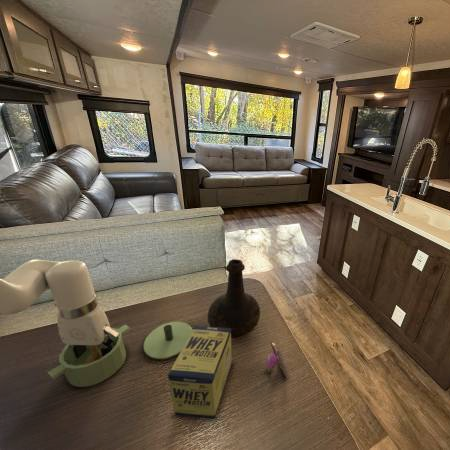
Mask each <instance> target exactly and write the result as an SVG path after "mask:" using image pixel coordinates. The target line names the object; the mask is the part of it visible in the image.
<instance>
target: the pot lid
mask: <svg viewBox="0 0 450 450" xmlns="http://www.w3.org/2000/svg"><path fill="white" fill-rule="evenodd" d="M192 330H193V328H192V326H191V325H190V324H189V323H186V322H184V321H170V322H167V323H163V324H162V325H159V326H157V327H155V328H154V329H153V330H151V332H150V333H149V334H148V335H147V336H146V338H145V340H144V343H143V351H144V353H145V354H146V356H148V357H149V358H151V359H154V360H166V359H169V358H173V357H175V356H177V355H179V354H180V352H181V350H182V348H183V347H184V345H185V343H186V341H187V339H188V338H189V336H190V334H191V332H192Z"/></svg>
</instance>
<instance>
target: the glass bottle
mask: <svg viewBox="0 0 450 450" xmlns="http://www.w3.org/2000/svg"><path fill="white" fill-rule="evenodd" d="M245 267H246V266H245V264H244V263H243V261H242V260H241V259H237V258H233V259H230V260H229V261H228V262H227V265H226V266H225V271H226V272H227V274H228V277H227V288H226V292H224V293H223V294H221V295H219V296H218V297H216V298H215V299H214V300H213V301H212V303H211V304H210V306H209V308H208V311H207V323H208V325H209V327H218V328H231V340H232V339H240V338H242V337H245V336H247V335H248V334H249V333H251V332H252V331H253V330H254V329H255V328H256V327H257V325H258V323H259V321H260V318H261V308H260V304H259V302H258V300H257V299H256V298H255V297H254V296H253V295H251V294H249V293H247V292H245V287H244V286H245V285H244V276H243V272H244V270H245Z"/></svg>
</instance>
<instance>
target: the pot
mask: <svg viewBox="0 0 450 450" xmlns="http://www.w3.org/2000/svg"><path fill="white" fill-rule="evenodd" d="M110 328H111V329H113V330H114V331H116V332H118V333H119V334H120V335H119V336H118V337H117V339H116V340H114V341H113V342H112V343H111V345H112V348H113V349H112V350H111V351H110V352H109V353H108V354H106V355H105V356H103V357H102V358H100V359H98V360H96V361H94V362H91V363H89V364H86V360H87V358H88V357H89V356H90V355H92V354H91V351H90V348H89V345H86V348H87V350H86V351H85V352H84V353H83V355H82V356H81V357H80V358H76V357H75V354H74V351H73V348H70V347H69V344H65V346H64V347H63V349H62V351H61V352H60V353H59V365H57V366H55V367H54V368H52V369H51V370H49V371H47V372H46V374H47V375H48V376H49V378H50V379H51V380H55V379H57V378H58V377H60V376H61V375H63V374H64V376H65V378H66V381H67V382H68V383H69V384H70V385H71V386H73V387H77V388H86V387H91V386H95V385H97V384H99V383H101V382H103V381H105V380H108V379H109V378H110V377H112V376H113V375H114V374H115V373H116V372H118V371H119V370H120V369H121V367H122V366H123V365H124V363H125V361H126V358H127V351H126V347H125V343H124V340H123V335H124V334H126V333H128V332H129V331H131V328H130V326H128V325H127V324H123V325H122V326H120V327H119V328H116V327H111V326H110ZM106 341H107V340H106V339H105V338H104V342H106ZM97 348H98V351H101V350H100V349H101V348H102V347H101V346H100V345H97Z"/></svg>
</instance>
